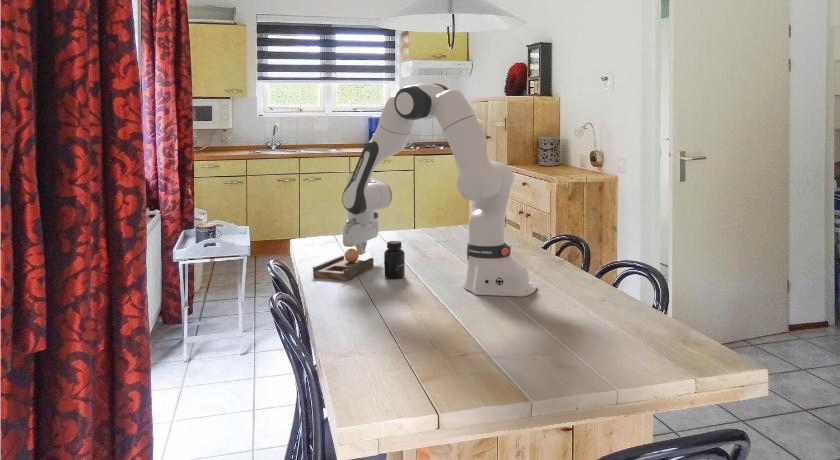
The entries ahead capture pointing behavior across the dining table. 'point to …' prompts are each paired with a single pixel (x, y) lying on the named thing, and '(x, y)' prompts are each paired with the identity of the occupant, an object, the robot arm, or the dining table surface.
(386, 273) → the supplement bottle
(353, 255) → the ball
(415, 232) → the dining table surface
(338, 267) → the lane
